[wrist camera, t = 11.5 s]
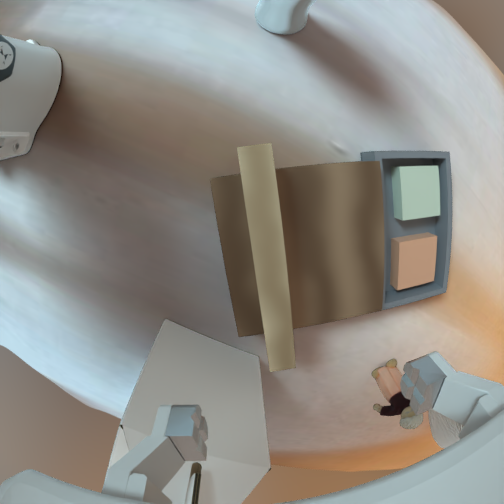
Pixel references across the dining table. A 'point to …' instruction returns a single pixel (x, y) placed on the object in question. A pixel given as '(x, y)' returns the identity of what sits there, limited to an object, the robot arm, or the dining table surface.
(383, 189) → the box
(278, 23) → the beer glass
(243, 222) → the dark wooden square block
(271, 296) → the bar
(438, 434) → the shell sculpture
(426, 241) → the terracotta tile
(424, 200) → the sage tile
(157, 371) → the gable box
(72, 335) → the dining table surface
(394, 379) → the grandmother figurine
